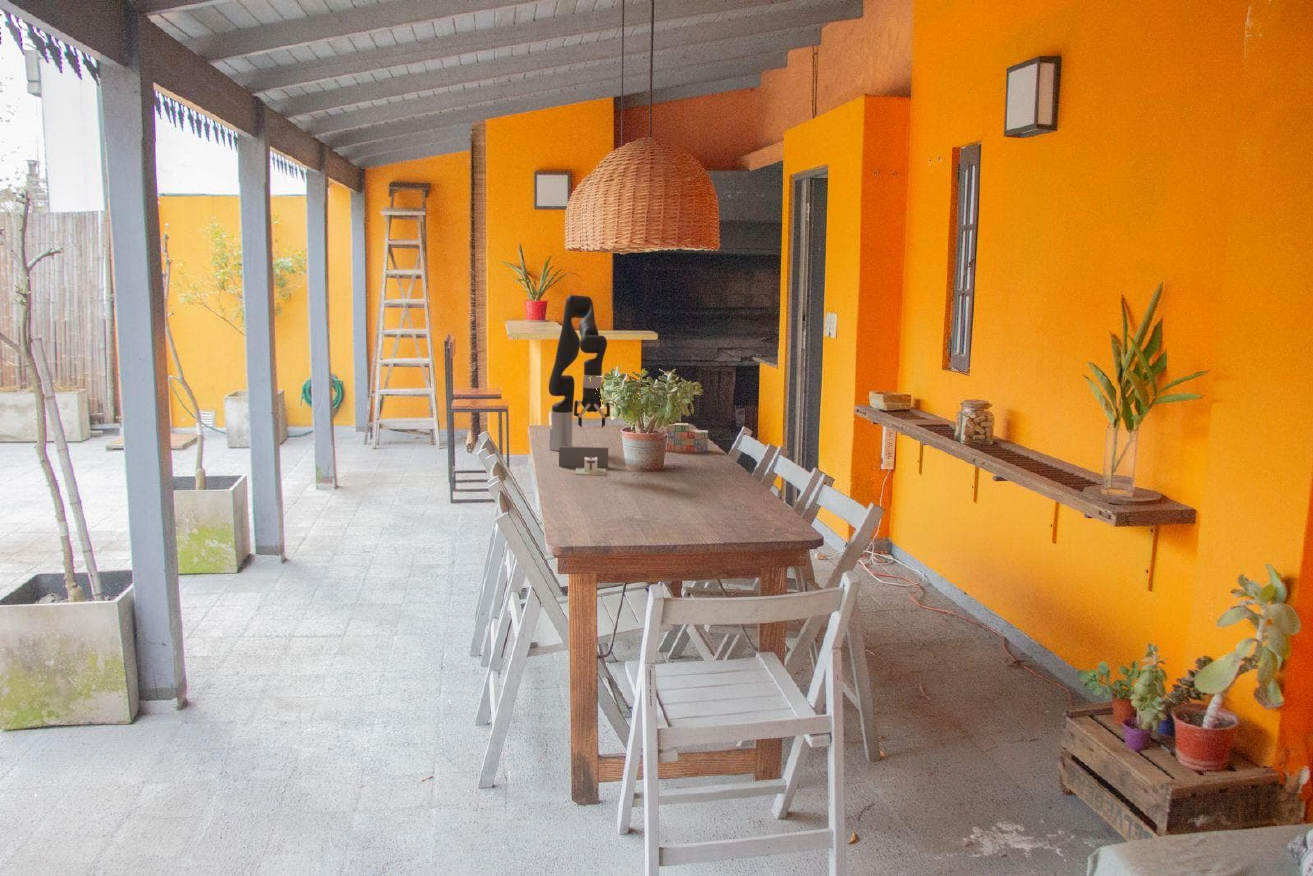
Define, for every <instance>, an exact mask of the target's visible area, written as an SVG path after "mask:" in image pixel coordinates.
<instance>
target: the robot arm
mask: <svg viewBox="0 0 1313 876" xmlns="http://www.w3.org/2000/svg"><path fill="white" fill-rule="evenodd" d="M563 311H564V312H563V320H562V326H561V330H560V335H559V339H558V343H557V347H556V355H555V360H554V364H553V368H552V370H551V374H550V377H549V382H548V392H549V394H550V396H553V397H564V398H563V399H562V400H559V402H557V403H556V402H555V403H554V404H553V405H552V406H551V427H550V428H549V450H552V451H555V452H559V446H569V447H573V430H574V428H573V425H574V421H573V420H574V417H577V418H578V421H577V425H578V426H579V427H580V428H582V427H583V417H582V416H583V415H584V414H585V413H586V412H587V413H591V412H593V413H597V412H598V413H599V414H600V416H601V428H604V427H605V426H606V418H608V417H611V407H610V405H611V404H610V402H609V403H603V402H604V401H603V397H602V398H601V394H600V386H601V380H602V381H603V376H602V374H603V372H602V370H603V361H604V357H605V353H606V351H607V346H608V340H607V337H605V336H604V335H602V334H601V335H600V334H599V330H598V328H597V325H596V320H595V309H594V303H593V299H592V298H591V297H590V296H587V295H576V294H575V295H574V294H569V295H567V298H566V299H565V304H564V310H563ZM573 318H576V319H577V318H578V319H581V320H580V321H579V325H578V330H579V334H580V336H579V334H578V333H577V331H576V330H575V327H574V325H573V322H572V320H573ZM579 337H580V338H579ZM580 350H581V352H583V353H584V354H596V355H595V356H594V357H593V358H588V359H586V360H585V361H584V364H583V379H582V399H581V400H575V398H574V397H575V378H574V377H573V375H569V374H563V373H564V372H565V370H566V369H567V368H568V367H569V366H571V364H573V363H574V362H575V360H576V359H577V358H578V355H579V351H580ZM590 376H592V377H591V382H590V379H589V377H590ZM596 376H602V377H596ZM591 383H592V384H591ZM596 388H597V390H598V391H597V390H596ZM595 393H596V394H595ZM599 396H600V397H599ZM600 399H601V400H602V404H603V405H604V407H605V408H606V413H604V411H603V410H602V408H601V407H602V406H601V401H600ZM574 400H575V401H574ZM580 405H581V406H582V409H581V411H580V412H578V407H580Z"/></svg>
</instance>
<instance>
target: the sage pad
mask: <svg viewBox="0 0 1313 876" xmlns="http://www.w3.org/2000/svg"><path fill="white" fill-rule="evenodd" d="M606 468H607V467H597V472H584V467H575V472H574V475H577V476H578V475H579V476H582V475H583V476H606V475H607V470H606Z"/></svg>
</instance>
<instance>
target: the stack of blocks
mask: <svg viewBox="0 0 1313 876" xmlns="http://www.w3.org/2000/svg"><path fill="white" fill-rule="evenodd" d="M674 423H675V424H673V425H671V426H668V428H667V434H668V443H667V451H666V452H683V453H684V452H686V453H708V451H709V450H708V449H709V431H708V430H706V429H705V430H704V429H702V430H701V429H700V430H699V429H689V428H690V425H689V423H688V422H674Z"/></svg>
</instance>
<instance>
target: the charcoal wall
mask: <svg viewBox="0 0 1313 876" xmlns="http://www.w3.org/2000/svg"><path fill="white" fill-rule="evenodd" d="M585 457H597V468H607V467H608V468H609V447H608V446H607V447H606V446H603V447H602V446H572V447H569V446H559V451H558V467H565V468H566V467H568V468H576V467H577V468H584V465H585Z"/></svg>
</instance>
